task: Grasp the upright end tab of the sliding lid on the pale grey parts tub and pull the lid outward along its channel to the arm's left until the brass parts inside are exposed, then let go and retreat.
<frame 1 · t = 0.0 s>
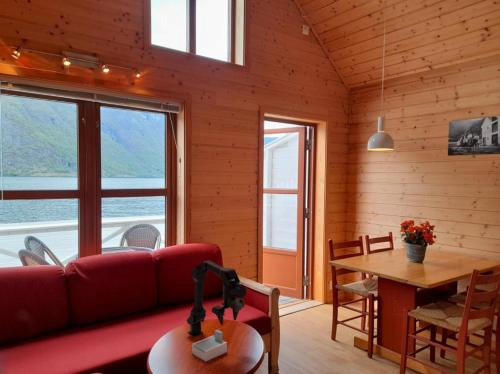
hand: (228, 322, 185), 14 cm above the table, fingers open, 9 cm apart
parts tub: (209, 352, 182), on the table
lid: (209, 339, 181), point 7 cm above the table, slide at 0.0 cm
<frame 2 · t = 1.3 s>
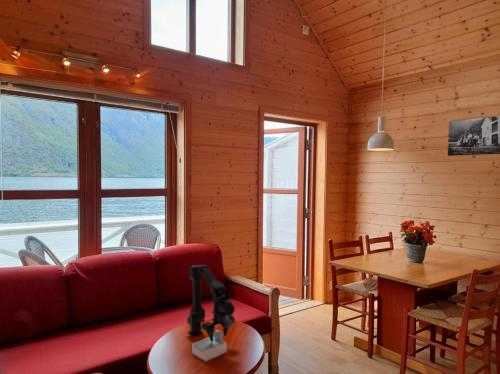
hand: (218, 338, 186), 6 cm above the table, fingers open, 9 cm apart
nothing on the table moved.
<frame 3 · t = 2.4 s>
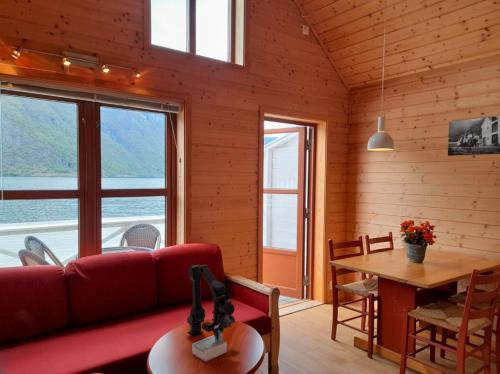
hand: (218, 338, 186), 6 cm above the table, fingers closed on lid, 2 cm apart
lid: (209, 339, 181), point 7 cm above the table, slide at 0.0 cm, touching gripper
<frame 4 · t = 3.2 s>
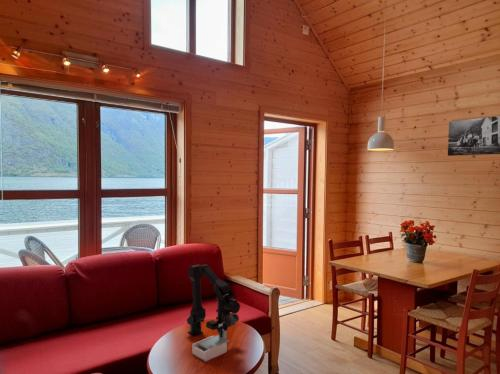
hand: (222, 336, 188), 6 cm above the table, fingers closed on lid, 2 cm apart
lid: (213, 338, 184), point 7 cm above the table, slide at 2.9 cm, touching gripper
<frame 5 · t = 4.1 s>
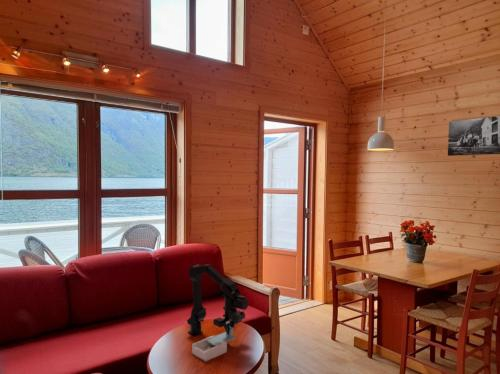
hand: (229, 334, 191), 6 cm above the table, fingers closed on lid, 2 cm apart
lid: (221, 335, 187), point 7 cm above the table, slide at 7.8 cm, touching gripper
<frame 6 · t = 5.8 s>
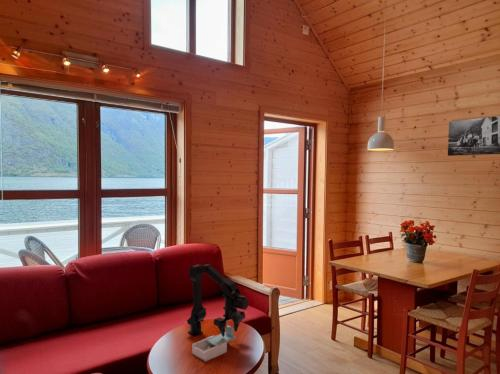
hand: (229, 333, 192), 6 cm above the table, fingers open, 9 cm apart
lid: (221, 334, 187), point 7 cm above the table, slide at 7.9 cm
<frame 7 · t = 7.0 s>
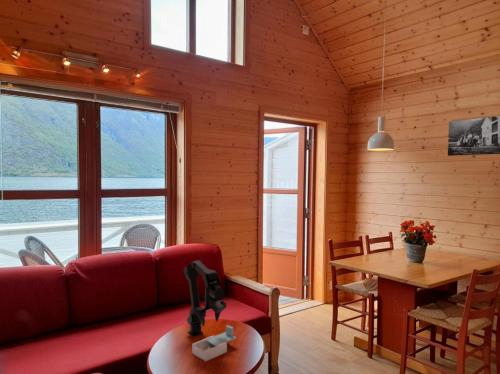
hand: (210, 323, 189), 12 cm above the table, fingers open, 9 cm apart
nothing on the table moved.
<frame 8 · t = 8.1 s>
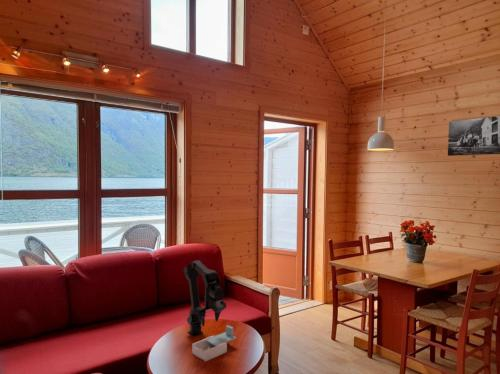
hand: (210, 323, 189), 12 cm above the table, fingers open, 9 cm apart
nothing on the table moved.
at the end: lid slide at 7.9 cm; the gripper is holding nothing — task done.
